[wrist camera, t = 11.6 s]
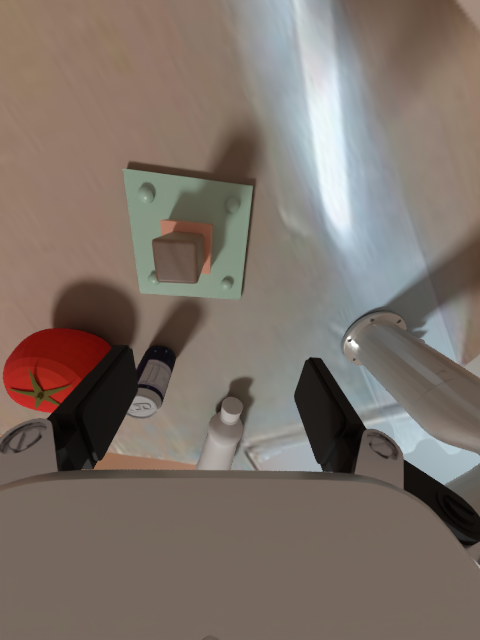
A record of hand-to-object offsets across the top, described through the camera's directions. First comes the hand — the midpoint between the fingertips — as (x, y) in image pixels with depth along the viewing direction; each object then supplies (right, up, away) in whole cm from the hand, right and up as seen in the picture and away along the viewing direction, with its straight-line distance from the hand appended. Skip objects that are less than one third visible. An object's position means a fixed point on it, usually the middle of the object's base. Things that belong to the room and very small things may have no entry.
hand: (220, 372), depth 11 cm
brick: (-6, +14, +18) cm, 23 cm away
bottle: (-4, -26, +41) cm, 49 cm away
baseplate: (-6, +14, +19) cm, 24 cm away
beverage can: (-14, -4, +28) cm, 32 cm away
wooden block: (-6, +12, +14) cm, 19 cm away
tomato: (-27, -2, +26) cm, 38 cm away
